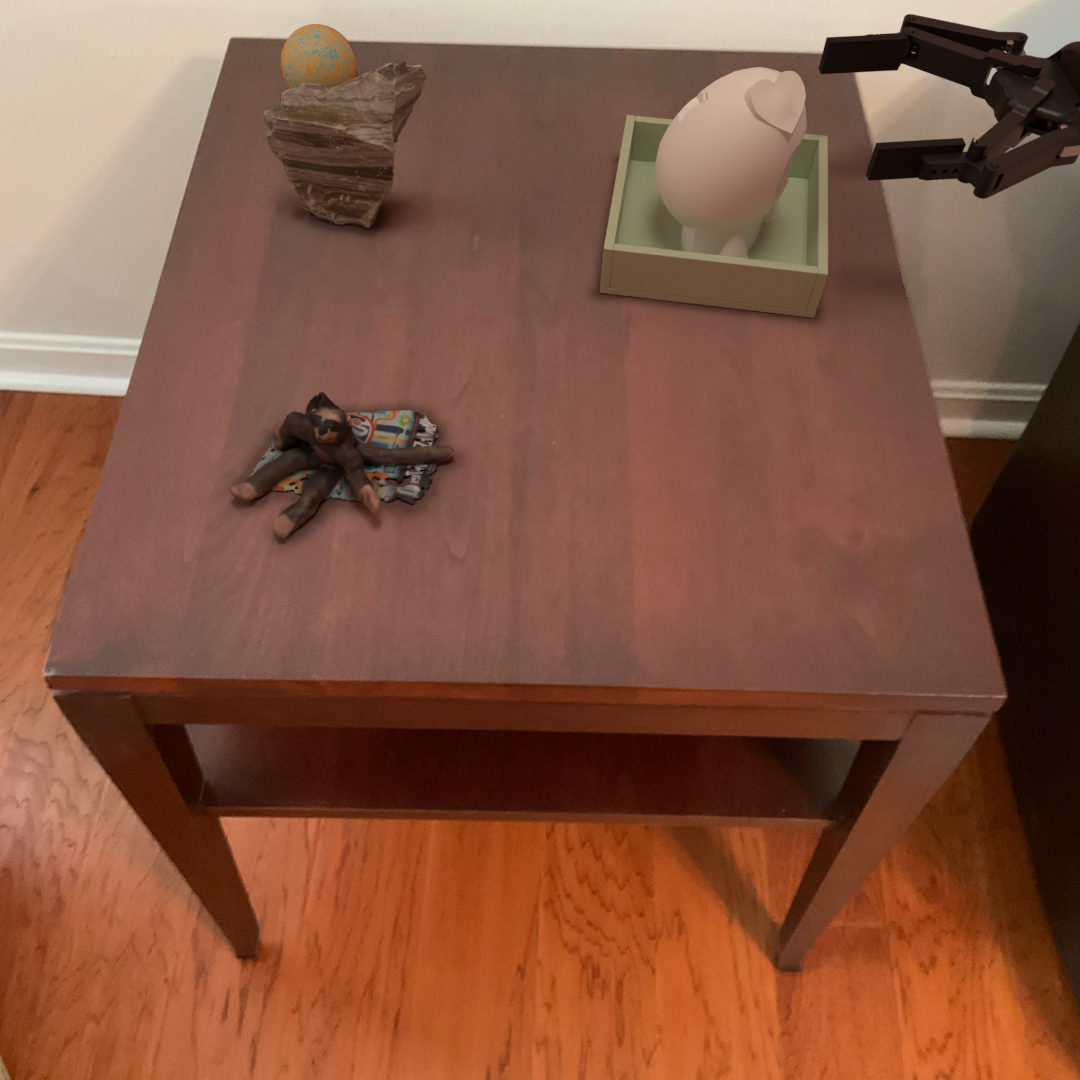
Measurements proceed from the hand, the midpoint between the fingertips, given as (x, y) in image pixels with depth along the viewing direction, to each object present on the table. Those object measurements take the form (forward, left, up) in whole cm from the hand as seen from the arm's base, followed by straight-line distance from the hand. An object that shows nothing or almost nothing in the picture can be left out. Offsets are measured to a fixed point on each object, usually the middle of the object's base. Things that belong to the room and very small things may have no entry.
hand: (846, 106), depth 79 cm
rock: (+39, +4, -12) cm, 41 cm away
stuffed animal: (+33, +32, -12) cm, 48 cm away
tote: (+8, +2, -12) cm, 15 cm away
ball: (+46, -11, -12) cm, 49 cm away
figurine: (+8, +2, -12) cm, 14 cm away
